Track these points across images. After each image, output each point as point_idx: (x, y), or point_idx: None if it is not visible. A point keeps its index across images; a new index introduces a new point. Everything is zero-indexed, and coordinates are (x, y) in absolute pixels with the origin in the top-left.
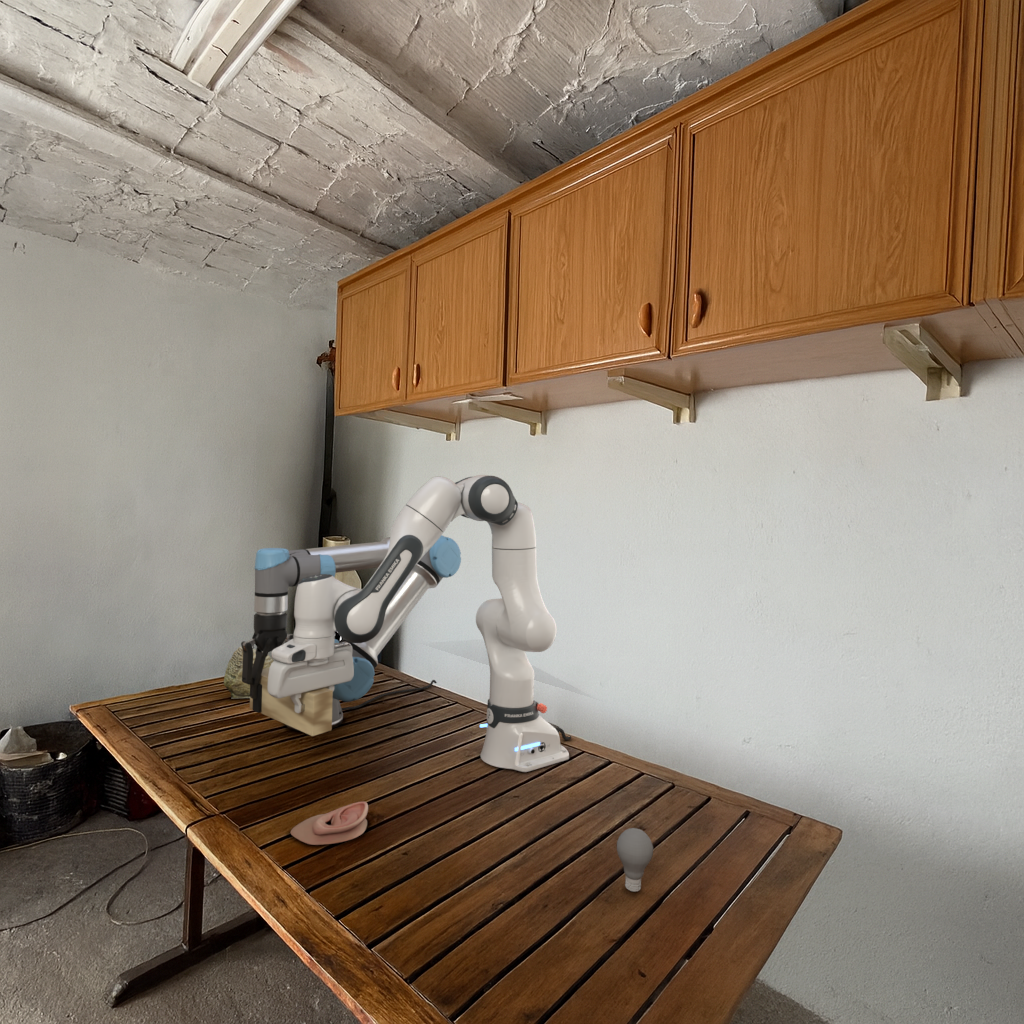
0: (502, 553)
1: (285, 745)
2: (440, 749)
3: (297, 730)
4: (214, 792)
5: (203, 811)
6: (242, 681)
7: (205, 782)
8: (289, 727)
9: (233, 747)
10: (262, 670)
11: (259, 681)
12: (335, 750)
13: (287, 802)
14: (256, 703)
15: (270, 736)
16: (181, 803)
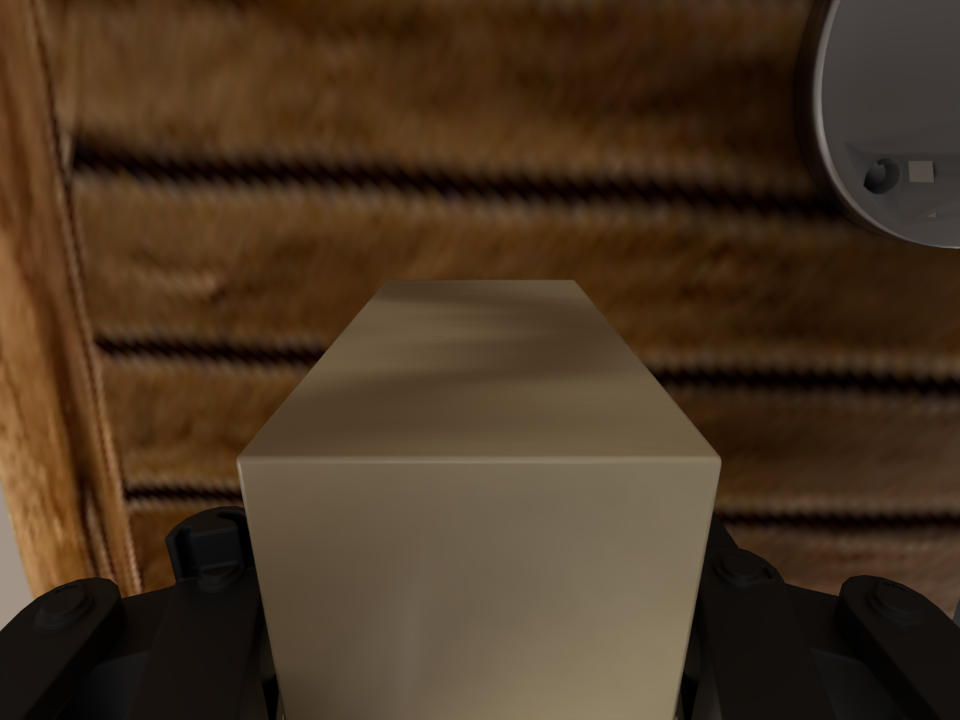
0: None
1: (617, 262)
2: None
3: (798, 129)
4: (164, 479)
5: (97, 570)
6: (44, 602)
7: (158, 382)
8: (804, 47)
9: (410, 79)
10: (472, 554)
11: (280, 708)
12: (721, 468)
13: None
14: None
15: (648, 74)
16: (41, 479)
